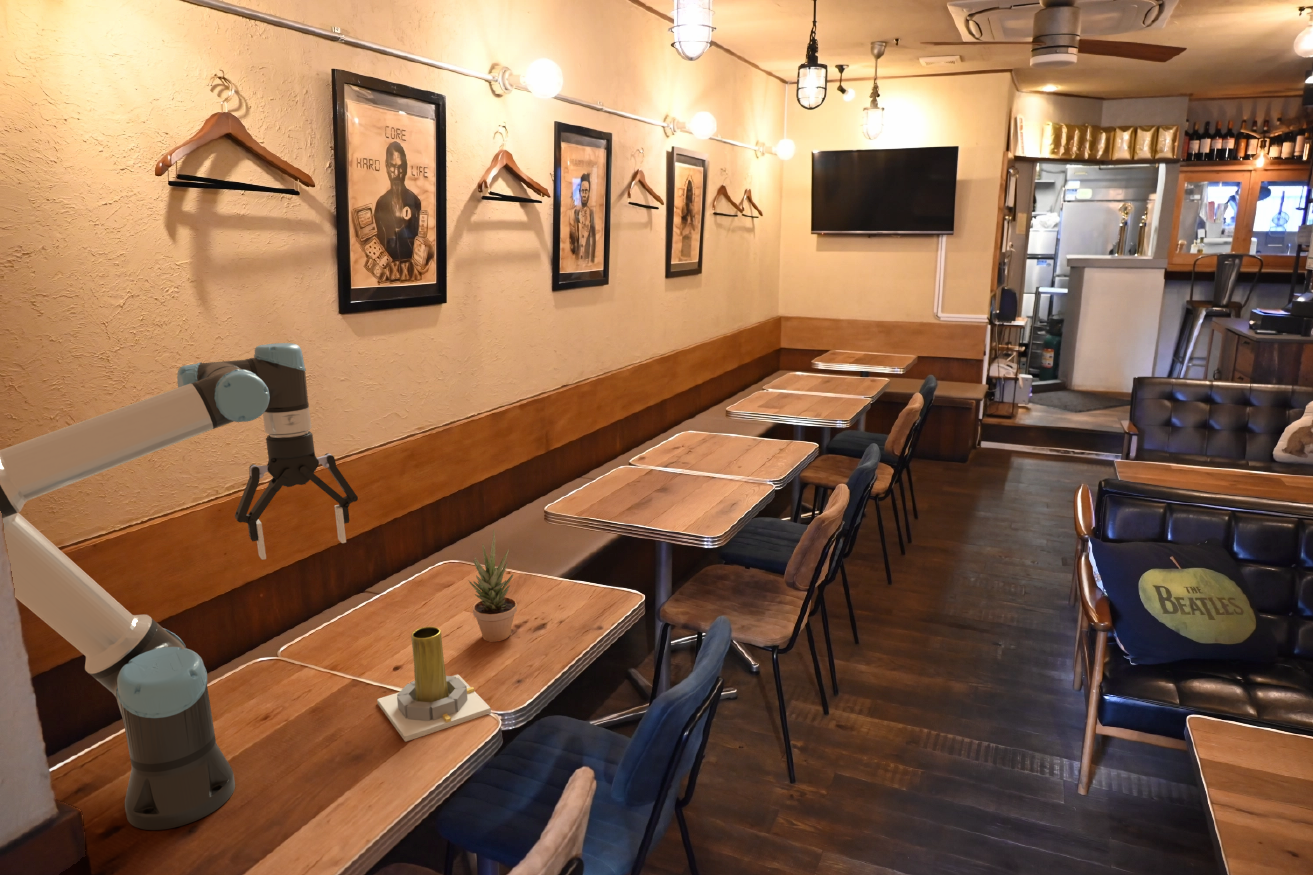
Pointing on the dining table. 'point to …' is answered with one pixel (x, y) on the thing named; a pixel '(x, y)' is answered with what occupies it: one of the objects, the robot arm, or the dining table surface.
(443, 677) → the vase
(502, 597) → the potted plant
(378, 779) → the dining table surface
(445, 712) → the socket
